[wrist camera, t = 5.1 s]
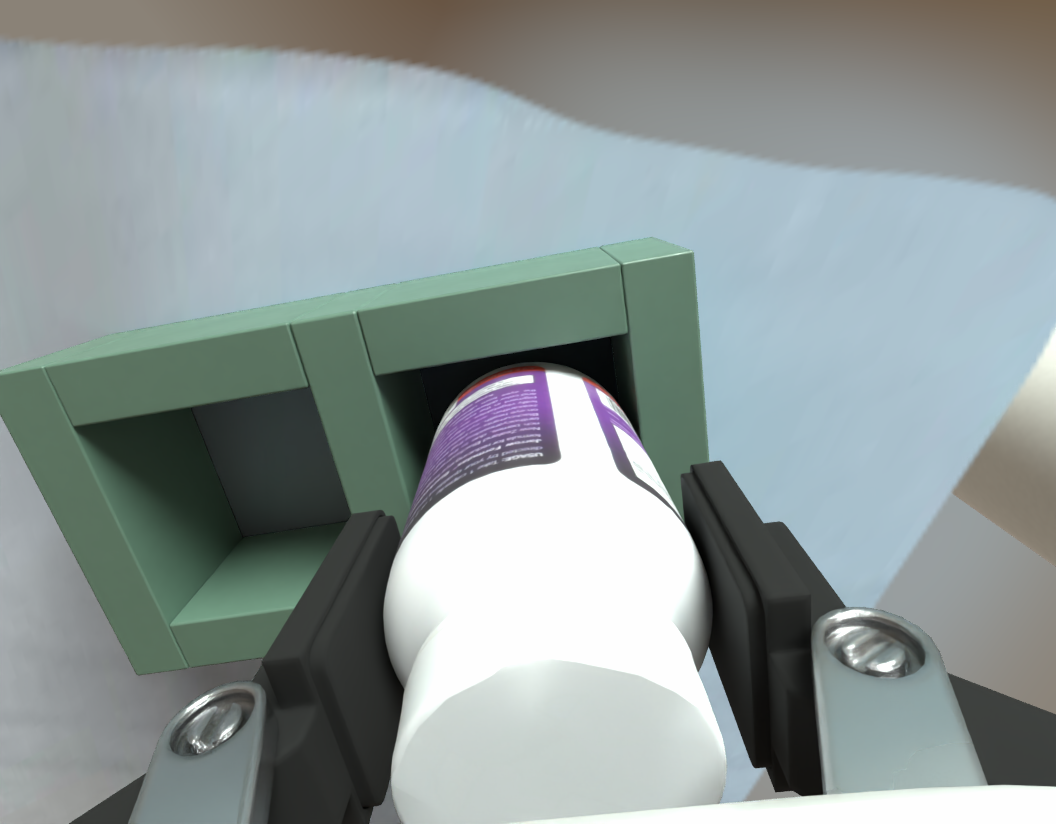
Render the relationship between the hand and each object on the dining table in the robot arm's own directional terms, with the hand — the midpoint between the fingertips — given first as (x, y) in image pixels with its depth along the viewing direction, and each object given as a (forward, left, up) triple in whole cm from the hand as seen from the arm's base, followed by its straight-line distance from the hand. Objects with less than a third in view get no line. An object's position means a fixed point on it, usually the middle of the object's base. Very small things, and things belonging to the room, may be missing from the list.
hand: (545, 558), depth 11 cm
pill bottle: (0, 0, -5) cm, 5 cm away
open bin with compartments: (+4, 0, -8) cm, 9 cm away
